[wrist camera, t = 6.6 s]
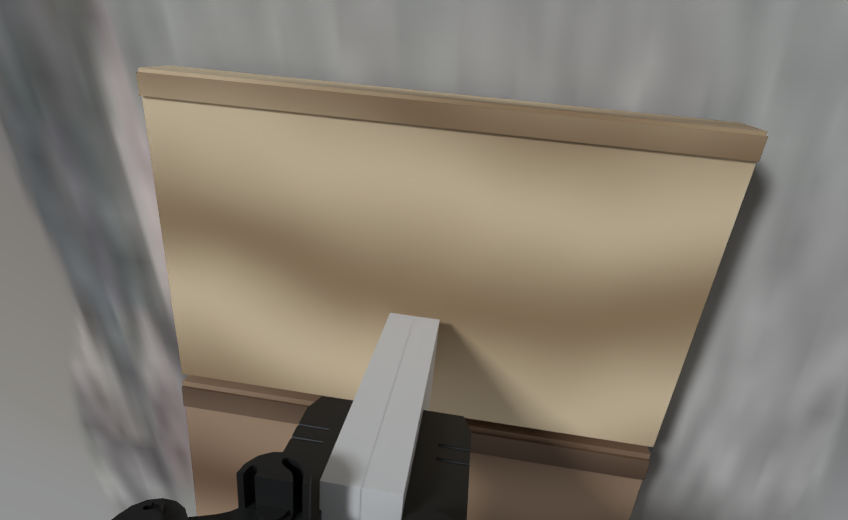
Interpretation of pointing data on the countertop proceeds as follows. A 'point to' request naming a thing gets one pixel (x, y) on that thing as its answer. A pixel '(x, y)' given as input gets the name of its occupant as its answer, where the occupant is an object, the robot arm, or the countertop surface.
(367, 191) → the board
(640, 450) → the floor board
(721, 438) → the countertop surface
